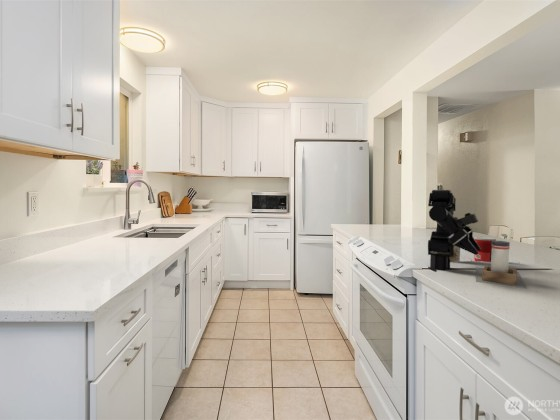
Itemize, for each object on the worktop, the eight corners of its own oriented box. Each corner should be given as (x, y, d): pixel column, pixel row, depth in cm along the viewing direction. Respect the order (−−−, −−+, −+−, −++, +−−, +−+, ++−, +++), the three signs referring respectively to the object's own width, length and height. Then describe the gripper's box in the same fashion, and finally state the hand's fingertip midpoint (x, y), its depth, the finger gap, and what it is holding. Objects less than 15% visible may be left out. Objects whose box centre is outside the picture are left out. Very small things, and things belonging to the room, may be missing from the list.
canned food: (494, 264, 136) (495, 239, 135) (473, 262, 140) (474, 238, 140) (495, 261, 142) (496, 237, 141) (474, 259, 146) (475, 236, 146)
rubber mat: (527, 290, 99) (527, 288, 99) (475, 283, 107) (475, 281, 107) (518, 274, 120) (518, 272, 120) (475, 269, 127) (475, 267, 127)
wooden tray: (481, 280, 108) (482, 270, 108) (484, 274, 116) (485, 265, 115) (516, 285, 102) (516, 275, 102) (516, 279, 110) (517, 269, 110)
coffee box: (436, 262, 140) (437, 227, 139) (437, 259, 145) (438, 225, 144) (459, 264, 135) (461, 228, 134) (460, 262, 140) (461, 226, 139)
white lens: (498, 280, 106) (500, 243, 105) (486, 276, 111) (488, 240, 110) (511, 280, 107) (513, 242, 106) (499, 276, 112) (501, 240, 111)
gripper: (459, 206, 107) (497, 241, 101) (466, 205, 122) (499, 235, 116) (434, 227, 113) (468, 261, 107) (443, 223, 127) (474, 253, 121)
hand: (478, 252), depth 113 cm, fingers open, 9 cm apart
